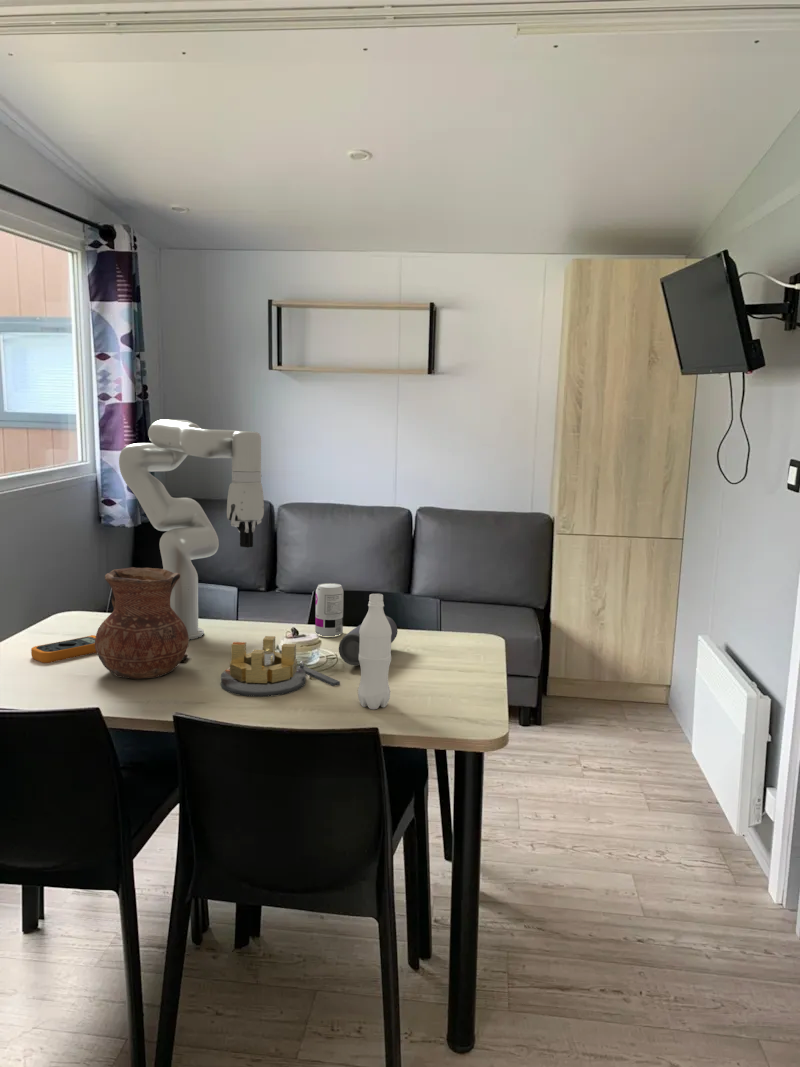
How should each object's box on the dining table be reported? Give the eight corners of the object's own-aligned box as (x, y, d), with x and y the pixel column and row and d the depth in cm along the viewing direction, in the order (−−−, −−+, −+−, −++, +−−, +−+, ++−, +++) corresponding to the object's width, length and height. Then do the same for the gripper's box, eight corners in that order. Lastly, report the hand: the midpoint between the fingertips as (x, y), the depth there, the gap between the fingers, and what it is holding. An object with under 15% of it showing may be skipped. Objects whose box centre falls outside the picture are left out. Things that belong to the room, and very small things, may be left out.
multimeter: (28, 659, 197) (27, 646, 196) (93, 645, 211) (93, 633, 210) (43, 665, 191) (43, 652, 191) (110, 651, 205) (109, 639, 205)
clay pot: (204, 664, 195) (204, 568, 192) (158, 689, 175) (156, 583, 172) (130, 655, 201) (128, 562, 198) (76, 679, 181) (73, 576, 178)
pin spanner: (339, 686, 182) (339, 675, 182) (332, 687, 181) (333, 677, 181) (302, 669, 194) (302, 659, 194) (296, 671, 193) (296, 661, 193)
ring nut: (288, 684, 174) (289, 653, 173) (224, 681, 175) (224, 651, 174) (300, 664, 189) (300, 636, 188) (240, 662, 189) (240, 634, 189)
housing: (216, 697, 171) (216, 667, 170) (225, 670, 191) (225, 643, 190) (305, 695, 173) (306, 666, 173) (305, 669, 193) (305, 642, 192)
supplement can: (310, 636, 225) (311, 586, 223) (321, 630, 233) (322, 581, 231) (336, 639, 222) (337, 589, 220) (346, 632, 230) (347, 584, 228)
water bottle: (369, 713, 163) (371, 599, 160) (351, 703, 169) (353, 593, 166) (396, 707, 168) (399, 596, 165) (378, 697, 173) (380, 590, 170)
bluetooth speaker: (370, 672, 192) (371, 634, 191) (336, 668, 195) (336, 630, 194) (399, 649, 213) (400, 615, 212) (368, 646, 216) (369, 611, 215)
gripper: (254, 476, 209) (254, 542, 211) (215, 478, 196) (216, 548, 199) (275, 478, 205) (275, 545, 208) (237, 479, 193) (237, 551, 195)
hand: (246, 546), depth 203 cm, fingers closed
